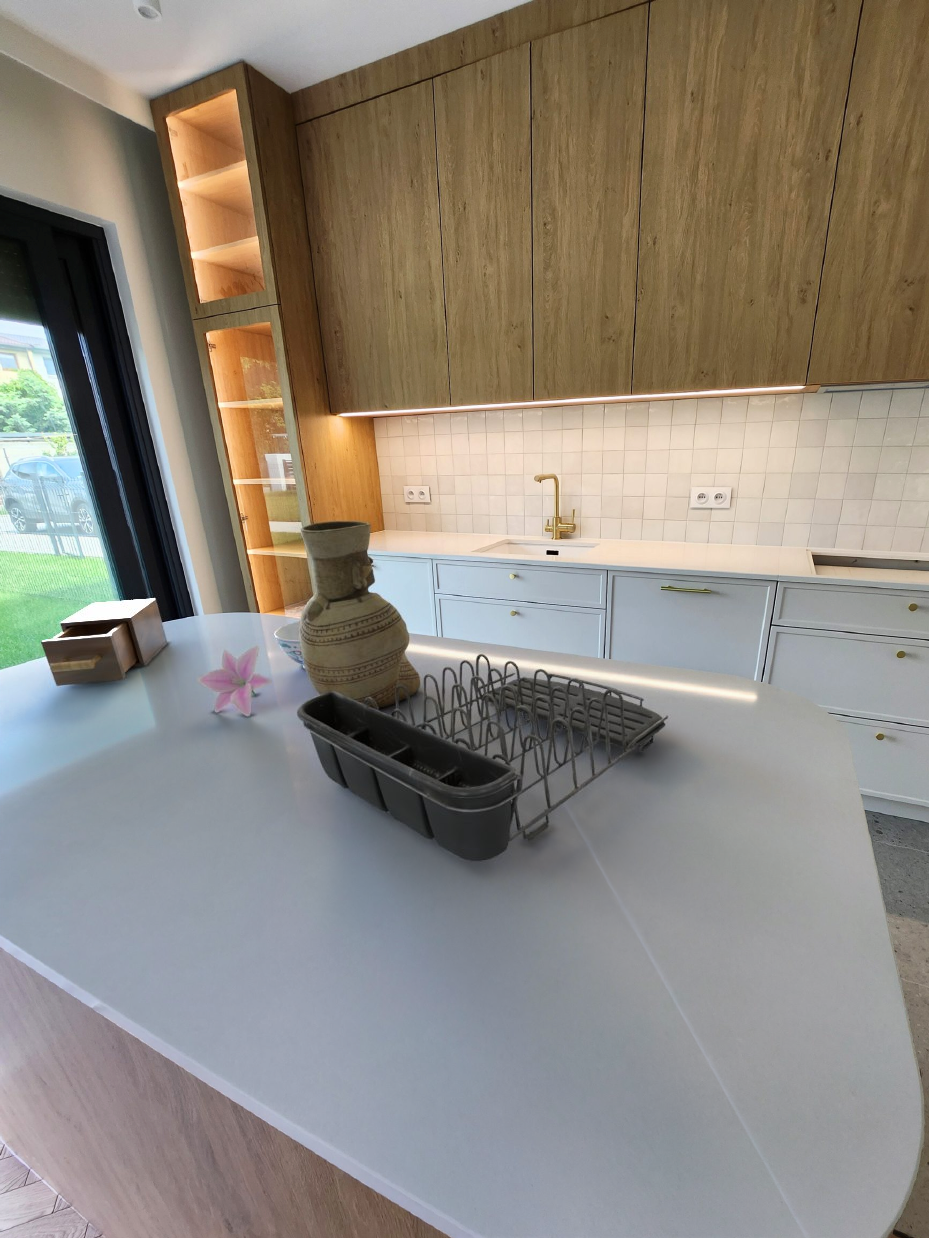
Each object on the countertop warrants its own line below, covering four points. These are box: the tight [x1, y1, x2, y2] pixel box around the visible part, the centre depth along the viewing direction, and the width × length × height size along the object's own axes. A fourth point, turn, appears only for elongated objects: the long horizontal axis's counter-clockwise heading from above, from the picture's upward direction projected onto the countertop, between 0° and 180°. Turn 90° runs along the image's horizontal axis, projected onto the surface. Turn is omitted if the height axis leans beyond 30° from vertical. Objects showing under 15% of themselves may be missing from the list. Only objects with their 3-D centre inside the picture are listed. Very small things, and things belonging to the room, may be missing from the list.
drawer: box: [40, 621, 139, 687], centre depth 114 cm, size 19×11×9 cm, turn 13°
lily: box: [197, 645, 272, 717], centre depth 101 cm, size 12×12×10 cm
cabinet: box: [59, 598, 168, 669], centre depth 125 cm, size 16×13×11 cm
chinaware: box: [274, 620, 306, 670], centre depth 118 cm, size 15×15×8 cm
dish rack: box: [296, 653, 669, 862], centre depth 79 cm, size 34×44×12 cm
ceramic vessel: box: [299, 520, 421, 709], centre depth 98 cm, size 19×21×30 cm
